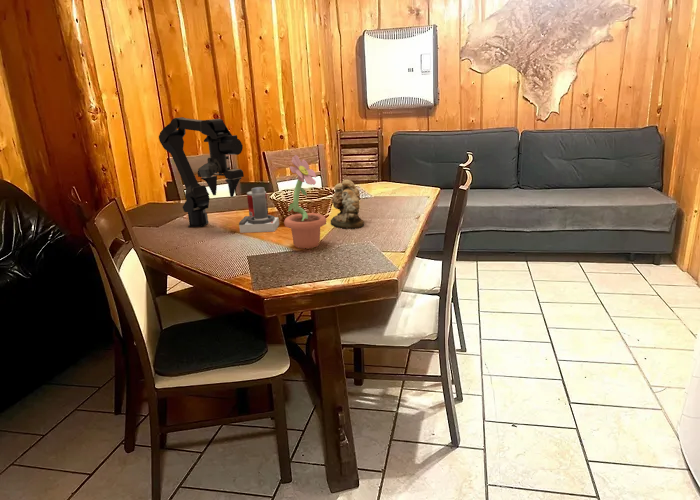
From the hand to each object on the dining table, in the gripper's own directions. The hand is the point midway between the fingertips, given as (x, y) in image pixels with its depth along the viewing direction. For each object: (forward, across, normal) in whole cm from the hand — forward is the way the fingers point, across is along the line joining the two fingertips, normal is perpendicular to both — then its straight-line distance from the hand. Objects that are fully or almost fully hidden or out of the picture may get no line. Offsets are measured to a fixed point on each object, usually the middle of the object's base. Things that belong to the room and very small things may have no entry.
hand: (223, 195), depth 189 cm
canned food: (+13, 0, +18) cm, 23 cm away
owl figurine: (+13, +39, +25) cm, 48 cm away
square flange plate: (+13, +12, +6) cm, 18 cm away
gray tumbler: (+10, +12, +6) cm, 17 cm away
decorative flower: (+13, +42, -6) cm, 45 cm away
